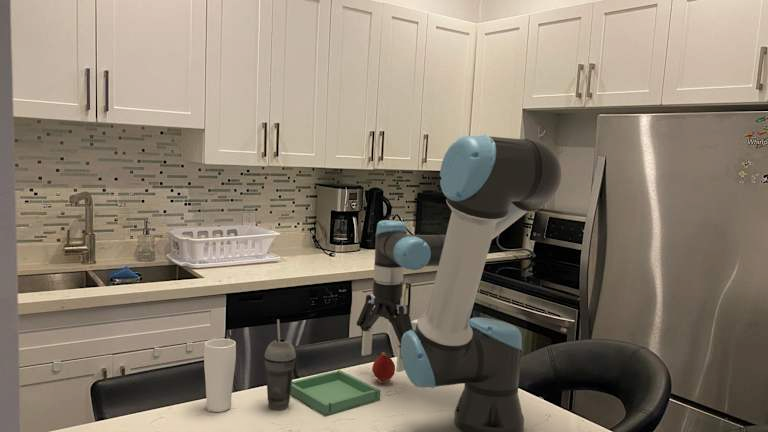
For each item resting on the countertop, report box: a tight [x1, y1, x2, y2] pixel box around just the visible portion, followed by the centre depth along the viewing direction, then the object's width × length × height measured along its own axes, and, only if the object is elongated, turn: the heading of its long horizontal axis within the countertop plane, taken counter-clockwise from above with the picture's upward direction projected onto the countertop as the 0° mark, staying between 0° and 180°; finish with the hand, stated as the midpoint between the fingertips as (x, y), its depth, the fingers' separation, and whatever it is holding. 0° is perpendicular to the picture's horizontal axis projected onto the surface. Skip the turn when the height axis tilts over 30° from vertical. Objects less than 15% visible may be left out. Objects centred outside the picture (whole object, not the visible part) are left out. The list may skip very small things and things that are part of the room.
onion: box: [371, 351, 396, 384], centre depth 155 cm, size 6×6×8 cm
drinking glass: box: [203, 338, 237, 413], centre depth 134 cm, size 7×7×15 cm
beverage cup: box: [263, 319, 297, 412], centre depth 136 cm, size 7×7×20 cm
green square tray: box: [290, 369, 381, 417], centre depth 144 cm, size 16×16×2 cm
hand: (383, 362), depth 155 cm, fingers open, 13 cm apart
